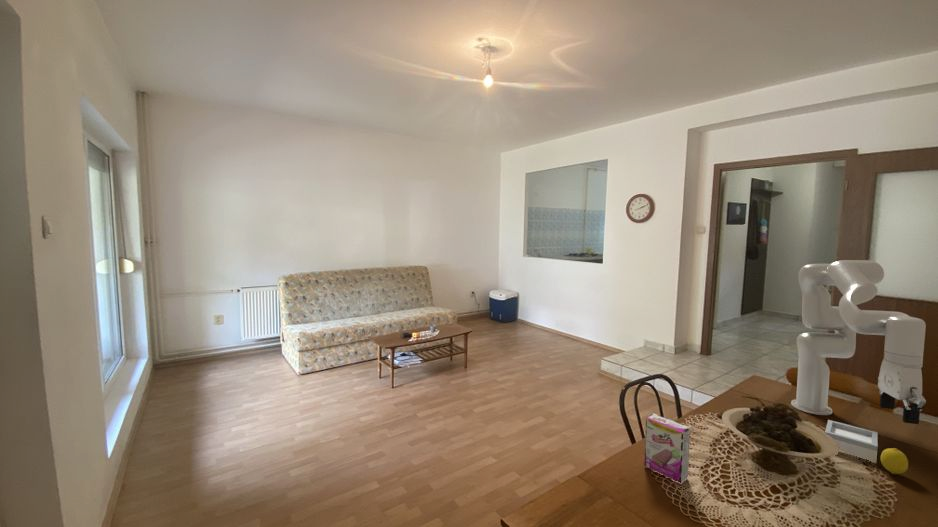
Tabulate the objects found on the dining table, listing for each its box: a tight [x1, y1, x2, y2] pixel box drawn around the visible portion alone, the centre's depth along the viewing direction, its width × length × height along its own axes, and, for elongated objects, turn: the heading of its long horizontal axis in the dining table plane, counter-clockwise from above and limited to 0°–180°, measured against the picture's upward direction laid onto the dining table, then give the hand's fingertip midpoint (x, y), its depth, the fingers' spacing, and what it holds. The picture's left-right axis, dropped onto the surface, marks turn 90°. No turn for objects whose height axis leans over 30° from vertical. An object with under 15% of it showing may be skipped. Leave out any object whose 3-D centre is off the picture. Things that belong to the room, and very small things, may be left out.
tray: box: [824, 419, 879, 464], centre depth 127 cm, size 12×12×6 cm
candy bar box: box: [643, 413, 691, 483], centre depth 114 cm, size 11×5×16 cm, turn 37°
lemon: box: [880, 447, 909, 475], centre depth 114 cm, size 6×6×8 cm
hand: (898, 415), depth 112 cm, fingers open, 9 cm apart
